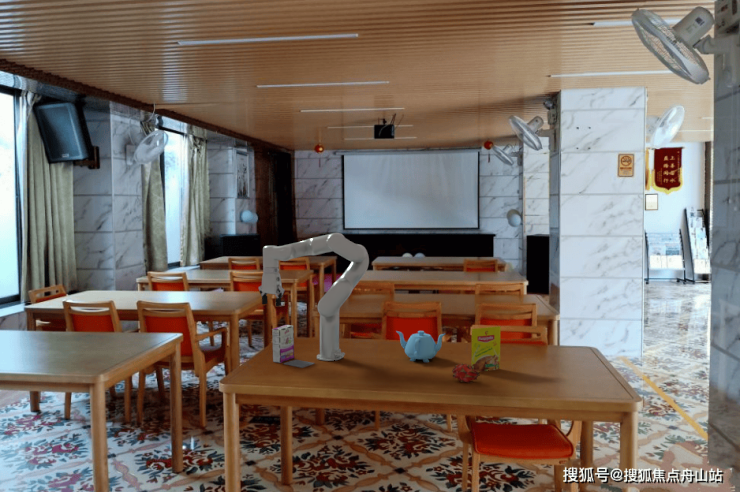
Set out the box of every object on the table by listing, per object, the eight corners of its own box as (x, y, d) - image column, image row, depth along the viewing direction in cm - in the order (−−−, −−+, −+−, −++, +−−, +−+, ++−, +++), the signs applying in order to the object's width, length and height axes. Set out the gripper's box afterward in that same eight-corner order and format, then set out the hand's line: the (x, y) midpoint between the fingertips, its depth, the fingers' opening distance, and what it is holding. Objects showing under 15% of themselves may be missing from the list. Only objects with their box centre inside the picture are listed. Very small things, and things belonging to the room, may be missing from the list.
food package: (471, 372, 268) (472, 329, 267) (470, 372, 269) (471, 328, 268) (500, 369, 274) (501, 326, 272) (499, 368, 275) (499, 326, 273)
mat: (314, 363, 283) (314, 363, 283) (302, 367, 276) (302, 367, 276) (295, 360, 290) (295, 359, 290) (283, 364, 283) (283, 363, 283)
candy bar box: (286, 357, 296) (286, 324, 295) (294, 358, 294) (294, 325, 293) (272, 362, 286) (271, 328, 285) (280, 363, 284) (279, 329, 283)
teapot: (445, 361, 288) (445, 333, 287) (409, 365, 281) (409, 336, 280) (430, 354, 303) (430, 326, 302) (395, 357, 296) (395, 329, 295)
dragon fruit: (450, 383, 257) (477, 390, 253) (448, 376, 250) (476, 383, 246) (454, 365, 261) (481, 371, 257) (453, 357, 254) (481, 364, 250)
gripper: (288, 271, 290) (289, 305, 291) (264, 269, 301) (265, 302, 302) (277, 272, 284) (278, 307, 285) (253, 270, 295) (253, 304, 296)
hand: (271, 305), depth 294 cm, fingers open, 9 cm apart
